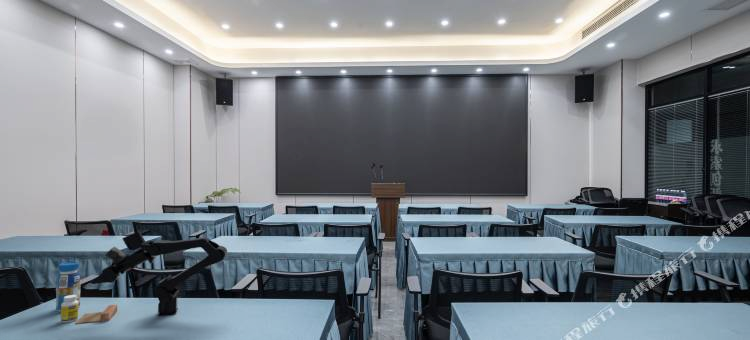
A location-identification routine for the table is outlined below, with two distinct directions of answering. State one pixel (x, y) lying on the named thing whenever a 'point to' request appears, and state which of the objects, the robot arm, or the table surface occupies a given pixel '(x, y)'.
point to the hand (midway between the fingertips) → (95, 279)
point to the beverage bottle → (67, 283)
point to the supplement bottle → (69, 309)
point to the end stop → (99, 315)
